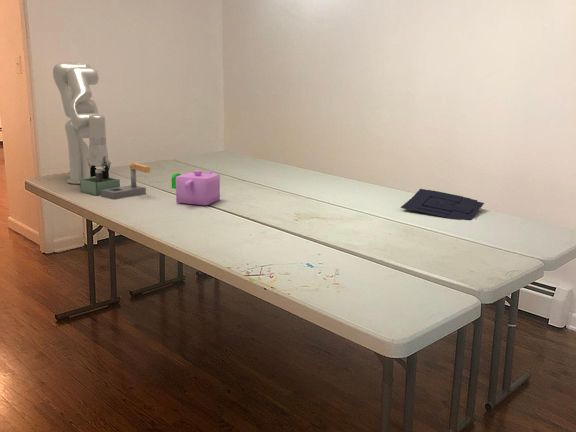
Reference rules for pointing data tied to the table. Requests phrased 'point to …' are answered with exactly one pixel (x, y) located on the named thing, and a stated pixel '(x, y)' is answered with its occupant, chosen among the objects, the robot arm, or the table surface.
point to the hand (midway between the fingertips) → (99, 177)
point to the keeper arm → (140, 167)
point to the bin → (97, 185)
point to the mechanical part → (174, 180)
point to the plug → (99, 175)
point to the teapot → (198, 188)
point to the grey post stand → (124, 189)
